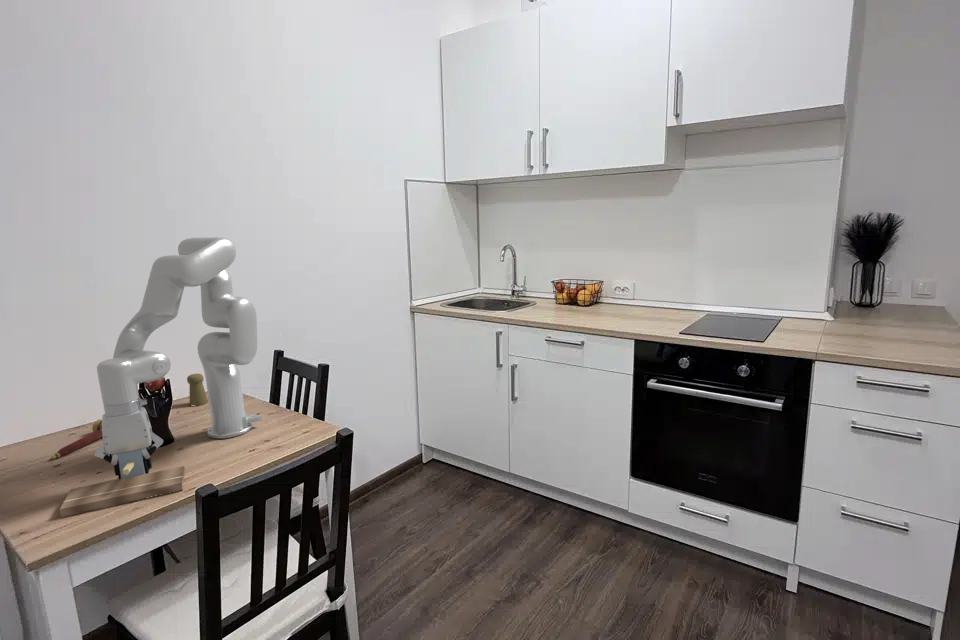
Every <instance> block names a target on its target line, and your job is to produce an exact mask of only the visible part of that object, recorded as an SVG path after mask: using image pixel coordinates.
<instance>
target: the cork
mask: <svg viewBox="0 0 960 640" xmlns="http://www.w3.org/2000/svg"><path fill="white" fill-rule="evenodd" d="M186 381H187V384H188V385H189V406H190V405H195V406H194V407H198V406H197V405H201V406H204V404H205V405H207V404H209V399H208V395H207V393H206V390H205V387H204V384H203V382H204V376H203V374H201V373H192V374H190V375H188V376H187V378H186ZM206 403H207V404H206Z"/></svg>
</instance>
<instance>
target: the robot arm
mask: <svg viewBox="0 0 960 640" xmlns="http://www.w3.org/2000/svg"><path fill="white" fill-rule="evenodd" d="M177 252H178V254H177V255H176V254H175V255H173V254H172V255H163V256H160V257H158V258H156V259H155V260H154V262H153V264H152V266H151V270H150V273H149V277H148V280H147V285H146V289H145V292H144V295H143V298H142V302H141V307H140V309H139V310H138V312H136V313H135V314H134V315H133V317H132V318H131V319H130V320H129V322H128V323H127V324H126V325H125V326H124V327H123V329H122V330H121V332H120V334H119V335H118V339H117V342H116V345H115V348H114V351H113V357H112V358H109V359H106V360H103V361H100V362H99V363H98V364H97V366H96V371H97V372H96V373H97V377H98V384H99V388H100V394H101V399H102V404H103V406H102V407H103V410H104V411H103V412H104V414H103V415H102V442H101V444H100V446H99V447H98V448H97V449H96V451H95V452H94V457H96V458H99V459H102V460H103V461H106V462H107V463H110V465H112V466H113V469H114V474H115V476H116V477H118V480H119V479H121V474H120V467H119V460H118V453H124V452H129V451H134V450H139V449H141V451H142V454H143V456H144V459H143V463H144V469H145V474H148V473H150V469H152V467H153V464H152V460H151V456H152V455H153V454H154V453H155V452H156V450H157V449H159V448H160V446H162V445H163V443H164V439H163V438H161V437H160V436H159V435H157V434H155V432H153V430H152V425H151V422H150V418H149V415H148V412H147V410H146V409H147V408H145V407H144V406H145V405H148V400H147V398H146V399H142V398H141V396H140V393H139V389H138V387H139V386H138V384H142V383H147V382H153V381H157V380H160V379H161V378H164V377H165V376H166V375H167V374H168V373H169V371H170V370H171V365H172V363H171V360H170V358H169V357H168V356H167V355H166V354H165V353H162V352H160V351H159V352H158V351H151V350H144V349H145V348H144V347H145V345H146V343H147V340H148V339H149V337H150V336H151V334H152V333H154V332H155V331H156V330H157V329H159V328H160V327H162V326H164V325H165V324H168V323H169V322H171V321H173V320H175V318H177V317H178V314H179V309H180V306H181V301H182V297H183V294H184V290H185V287H186V288H187V287H190V288H191V287H192V288H194V287H200V298H201V299H200V301H201V303H200V304H201V305H200V306H201V316H202V321H203V323H204V324H205V325H206V326H208V327H211V328H219V329H228V330H229V331H228V332H226V331H212V332H208V333H206V334H204V335H203V336H202V337H201V338H200V339H199V341H198V343H197V354H198V357H199V360H200V362H201V365H202V369H203V372H204V377H205V383H206V390H207V391H206V392H207V400H208V405H209V410H210V411H209V413H210V419H211V420H210V421H211V427H210V428H209V429H208V430H207V436H208V437H209V438H211V439H217V440H218V439H229V438H234V437H238V436H240V435H243V434H247V432H249V431H250V430H252V428H253V423H254V422H255V423H256V422H262V414H258V415H257V413H252V414H247V411H246V410H245V403H244V402H245V401H244V397H243V395H244V394H243V386H242V380H241V379H242V378H241V373H240V370H239V368H238V366H246V365H248V364H250V363H252V362H253V361H254V359H255V357H256V355H257V352H258V325H257V324H258V322H257V321H258V319H257V311H256V308H255V306H254V304H253V302H252V301H251V300H250V299H248V298H245V297H243V296H234V294H233V293H234V292H233V281H232V276H231V275H230V272H229V270H228V268H229V267H230V266H231V265H232V264H233V263H234V262H235V259H236V256H237V255H236V254H237V250H236V246H235V245H234V243H233V242H232V241H231V240H229V239H228V238H224V237H215V236H214V237H189V238H186V239H183V240H181V241H180V242H179V243H178V247H177ZM152 442H154V444H152Z"/></svg>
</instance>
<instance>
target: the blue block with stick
mask: <svg viewBox="0 0 960 640" xmlns="http://www.w3.org/2000/svg"><path fill="white" fill-rule="evenodd" d="M143 459H144V456H143V454H142V451H141V449H139V450H134V451H129V452H124V453H118V460H119V467H120V474H121V479H123V478H128V477H133V476H138V475H143V474H145V469H144V463H143Z"/></svg>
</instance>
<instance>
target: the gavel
mask: <svg viewBox="0 0 960 640" xmlns="http://www.w3.org/2000/svg"><path fill="white" fill-rule="evenodd" d="M102 438H103V436H102V419H97V420H95V422H94V423H93V424H92V432H91V433H89V434H87V435H85V436H83V437H81V438H79V439H78V440H75V441H73V442H71V443H69V444H68V445H65V446H64V447H61V448H60V449H59V450H58V451H57V452H55V454H54V455H52V456H51V459H52V460H55V459H59V457H60V458H63V457H66V456H69V455H70V453H71V454H72V452H73V453H75V452H77V451H78V449H79V450H80V449H82V448H84V447H87V446H88V445H89V444H92V443H93V442H95V441H98V440H99V439H102ZM76 450H77V451H76ZM74 451H75V452H74ZM62 456H63V457H62Z"/></svg>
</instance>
